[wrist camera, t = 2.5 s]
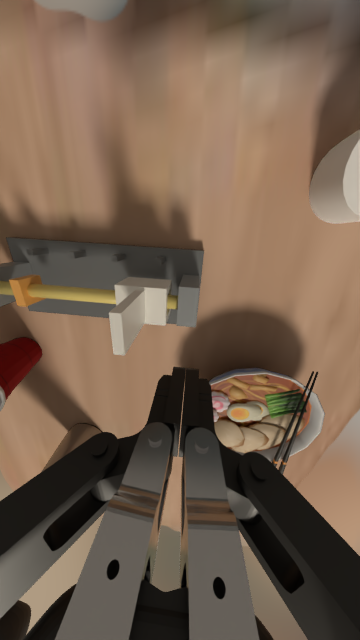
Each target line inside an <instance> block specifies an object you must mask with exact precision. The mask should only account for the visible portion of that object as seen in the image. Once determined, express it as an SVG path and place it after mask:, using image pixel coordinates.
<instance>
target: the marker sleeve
mask: <svg viewBox="0 0 360 640" xmlns="http://www.w3.org/2000/svg"><path fill="white" fill-rule="evenodd" d="M114 286H115V296H116V307H115V308H113V309H112V310H111V311H110V312H109V319H110V327H111V336H112V344H113V353H114V354H116V355H125V354H126V353H127V351H128V349H129V348H130V346H131V344H132V343H133V341H134V340H135V338H136V336H137V335H138V333H139V331H140V330H141V328H142V327H143V325H144V324H153V325H164V326H166V323H167V320H168V318H169V315H170V312H171V309H167V297H168V295H171V290H172V280H164V279H151V278H139V277H127V278H125V279H124V280H122V281H120V282H118V283H117V284H115V285H114Z"/></svg>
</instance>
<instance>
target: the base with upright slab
mask: <svg viewBox="0 0 360 640" xmlns="http://www.w3.org/2000/svg"><path fill="white" fill-rule="evenodd" d="M309 199H310V205H311V208H312V210H313V212H314V213H315V215H316V216H317V217H318V218H319V219H321V220H323V221H325V222H327V223H334V224H339V223H350V222H360V129H359V130H357V131H356V132H354V133H353V134H351V135H350V136H348V137H347V138H345V139H344V140H342V141H341V142H340V143H338V144H337V145H336V146H334V147H333V148H332V149H331V150H330V151H329V152H328V153H327V154H326V155H325V156H324V158H323V159H322V160H321V162H320V163H319V165H318V167H317V168H316V170H315V172H314V175H313V177H312V180H311V183H310V190H309Z"/></svg>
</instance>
